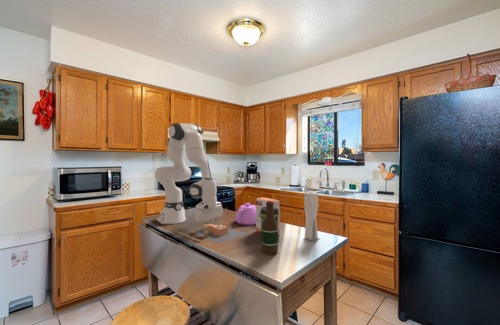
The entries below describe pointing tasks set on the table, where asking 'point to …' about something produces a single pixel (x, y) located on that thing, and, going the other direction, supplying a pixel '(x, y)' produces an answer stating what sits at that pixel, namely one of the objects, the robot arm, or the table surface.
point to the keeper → (206, 230)
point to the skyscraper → (311, 215)
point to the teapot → (246, 214)
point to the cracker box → (262, 203)
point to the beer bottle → (270, 231)
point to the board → (223, 238)
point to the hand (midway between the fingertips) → (210, 226)
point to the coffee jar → (263, 217)
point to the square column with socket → (217, 229)
